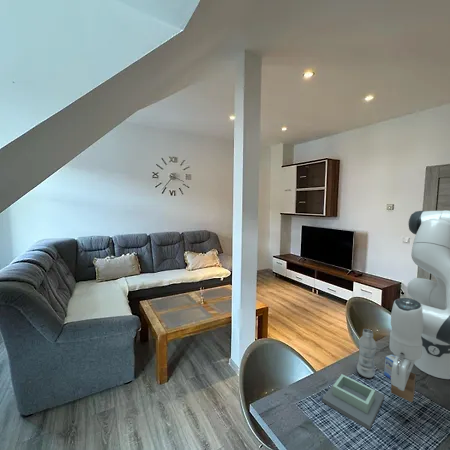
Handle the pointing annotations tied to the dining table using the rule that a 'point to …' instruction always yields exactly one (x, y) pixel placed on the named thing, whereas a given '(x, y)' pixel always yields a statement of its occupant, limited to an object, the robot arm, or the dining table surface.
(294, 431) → the dining table surface
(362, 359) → the plastic bottle
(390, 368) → the medicine box
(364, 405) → the board
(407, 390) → the walnut block
